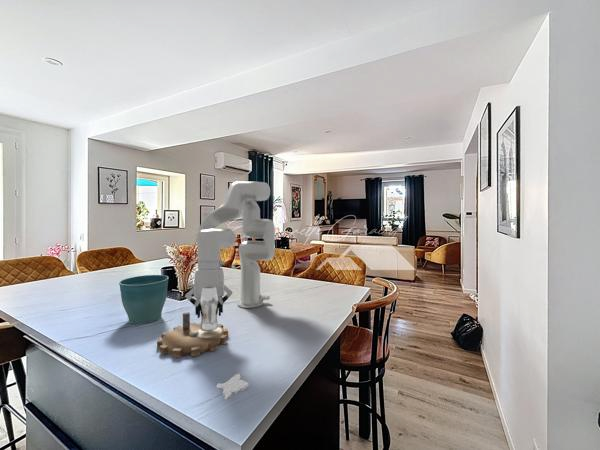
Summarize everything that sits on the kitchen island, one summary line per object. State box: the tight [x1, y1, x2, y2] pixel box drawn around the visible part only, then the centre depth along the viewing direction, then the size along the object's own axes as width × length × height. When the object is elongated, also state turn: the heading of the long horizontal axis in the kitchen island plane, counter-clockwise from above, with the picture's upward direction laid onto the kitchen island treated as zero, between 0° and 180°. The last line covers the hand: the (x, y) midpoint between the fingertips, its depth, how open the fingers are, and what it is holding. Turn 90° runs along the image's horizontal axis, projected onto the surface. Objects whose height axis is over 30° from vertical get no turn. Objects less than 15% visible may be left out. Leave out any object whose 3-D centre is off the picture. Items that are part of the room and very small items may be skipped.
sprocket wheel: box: [156, 311, 229, 358], centre depth 94 cm, size 23×23×8 cm
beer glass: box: [199, 287, 219, 331], centre depth 96 cm, size 7×7×15 cm
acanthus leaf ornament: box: [215, 372, 249, 400], centre depth 69 cm, size 8×7×2 cm
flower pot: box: [118, 274, 169, 325], centre depth 114 cm, size 18×18×17 cm
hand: (209, 315), depth 96 cm, fingers closed on beer glass, 6 cm apart
